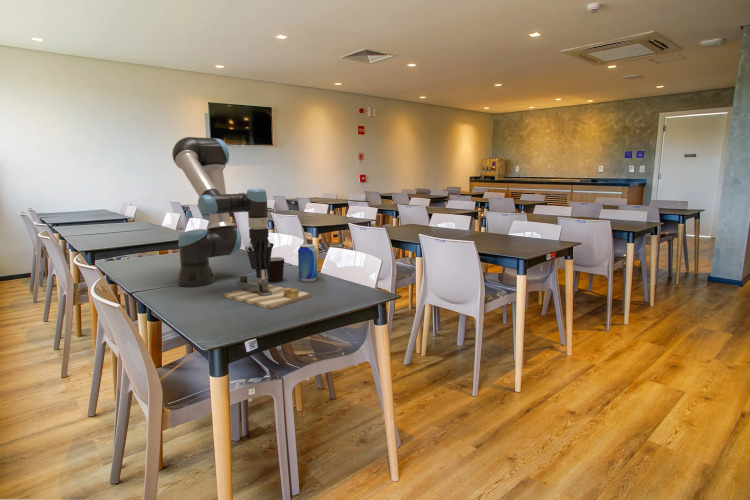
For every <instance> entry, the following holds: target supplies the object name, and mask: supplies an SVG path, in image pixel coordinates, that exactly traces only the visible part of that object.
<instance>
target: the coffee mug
mask: <svg viewBox="0 0 750 500" xmlns="http://www.w3.org/2000/svg"><path fill="white" fill-rule="evenodd" d="M267 268H268V269H266V276H267V280H268V283H281V282H283V281H284V268H285V257H280V256H278V257H277V256H275V257H274V256H273V257H272V256H271V260H270V266H269V267H267Z"/></svg>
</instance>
